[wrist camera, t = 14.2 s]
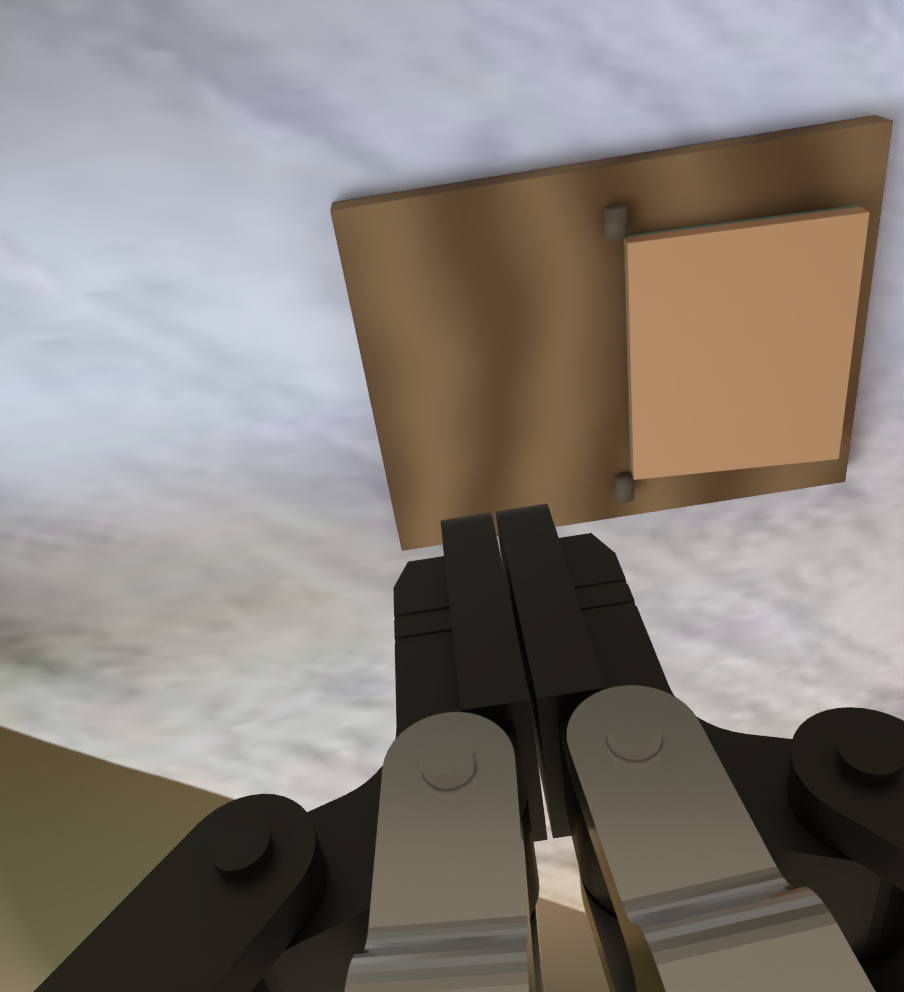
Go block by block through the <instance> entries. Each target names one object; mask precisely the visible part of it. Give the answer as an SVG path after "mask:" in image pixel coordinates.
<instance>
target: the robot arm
mask: <svg viewBox="0 0 904 992" xmlns="http://www.w3.org/2000/svg"><path fill="white" fill-rule="evenodd" d="M496 521H497V529H498V537H499V544H500V551H499V546H498V541H497V536H496V531H495V527H494V522H493V517H492V513H491V512H490V513H484V514H478V515H471V516H465V517H458V518H452V519H446V520H440V522H441V532H442V541H443V550H444V556H442V557H435V558H429V559H423V560H416V561H410V562H408V563H407V565H406V566H405V568H404V570H403V572H402V574H401V575H400V577H399V579H398V581H397V582H396V584H395V586H394V617H395V620H394V631H395V676H396V722H397V729H396V738H395V741H394V742H393V743H392V745H391V746H390V748H389V749H388V751H387V754H386V756H385V759H384V763H383V766H382V767H381V768H380V769H379V770H378V771H377V773H376V774H375V775H374V776H373V777H371V778H370V779H369V780H368V781H367V782H366V783H364V784H363V785H361V786H360V787H358V788H357V789H356V790H354V791H352V792H350V793H348V794H346V795H344V796H342V797H340V798H338V799H336V800H333V801H331V802H329V803H327V804H324V805H322V806H320V807H318V808H316V809H313V810H311V811H309V812H306V811H305V810H304V809H303V808H302V806H300V805H299V804H298V803H296V802H295V801H293V800H291V799H289V798H286V797H284V796H279V795H275V794H257V795H250V796H246V797H242V798H239V799H236V800H233V801H231V802H228V803H227V804H225V805H223V806H221V807H219V808H217V809H216V810H214V811H213V812H212V813H210V814H209V815H207V816H206V817H205V818H204V819H203V820H202V821H201V822H200V823H198V824H197V825H196V826H195V827H194V828H193V829H192V830H191V831H190V833H189V834H187V836H185V838H184V839H183V840H182V841H181V842H180V843H179V844H178V845H177V846H176V847H175V848H174V849H173V850H172V851H171V852H170V853H169V854H168V855H167V856H166V857H165V858H164V859H163V860H162V861H161V862H160V863H159V864H158V865H157V866H156V867H155V868H154V869H153V870H152V871H151V872H150V874H148V875H147V876H146V877H145V878H144V879H143V881H142V882H140V883H139V885H138V886H137V887H136V888H135V889H134V890H133V891H132V892H131V893H130V894H129V895H128V896H127V897H126V898H125V899H124V900H123V901H122V902H121V903H120V904H119V905H118V906H117V907H116V908H115V909H114V910H113V911H112V912H111V913H110V914H109V915H108V916H107V917H106V918H105V920H103V921H102V922H101V923H100V924H99V925H98V926H97V928H96V929H94V931H93V932H92V933H91V934H90V935H89V936H88V937H87V938H86V939H85V940H84V941H83V942H82V943H81V944H80V945H79V946H78V947H77V948H76V949H75V950H74V951H73V952H72V953H71V954H70V955H69V956H68V957H67V958H66V959H65V960H64V961H63V962H62V963H61V964H60V965H59V967H57V968H56V969H55V971H53V972H52V973H51V974H50V975H49V977H48V978H47V979H46V980H45V981H44V982H43V983H42V984H41V985H40V986H39V987H38V988H37V989H36V990H35V991H34V992H544V982H543V971H542V959H541V948H540V938H539V937H540V936H539V925H538V914H537V906H536V903H537V900H538V895H539V878H538V871H537V863H536V856H535V849H534V842H535V841H542V840H547V832H546V824H545V815H544V807H543V799H542V791H541V783H540V775H541V780H542V785H543V790H544V795H545V800H546V805H547V811H548V816H549V821H550V826H551V831H552V836H553V838H559V837H565V836H572V839H573V843H574V848H575V852H576V857H577V861H578V866H579V873H580V884H581V894H582V899H583V904H584V908H585V911H586V914H587V918H588V921H589V924H590V927H591V930H592V934H593V937H594V940H595V944H596V947H597V950H598V954H599V957H600V960H601V964H602V967H603V971H604V974H605V977H606V981H607V984H608V987H609V991H610V992H904V721H903V720H901V719H899V718H896V717H894V716H892V715H889V714H886V713H883V712H879V711H876V710H870V709H865V708H853V707H847V708H835V709H830V710H826V711H823V712H820V713H817V714H815V715H814V716H812V717H810V718H808V719H807V720H806V721H805V722H804V723H802V724H801V725H800V726H799V728H798V729H797V731H796V732H795V734H794V737H793V739H786V738H777V737H768V736H759V735H751V734H743V733H738V732H732V731H729V730H725V729H722V728H719V727H716V726H714V725H712V724H709V723H707V722H705V721H703V720H702V719H700V718H698V717H696V716H695V714H694V713H693V711H692V710H691V709H690V708H689V707H688V706H687V705H686V704H684V703H683V702H682V701H680V700H679V699H678V698H676V697H675V696H674V695H673V693H672V691H671V689H670V687H669V685H668V682H667V680H666V677H665V675H664V673H663V670H662V668H661V665H660V663H659V660H658V658H657V655H656V653H655V650H654V648H653V645H652V643H651V640H650V638H649V635H648V633H647V630H646V628H645V626H644V623H643V621H642V618H641V616H640V613H639V611H638V608H637V606H635V602H634V598H633V596H632V593H631V591H630V588H629V586H628V584H626V579H625V576H624V574H623V571H622V569H621V566H620V564H619V561H618V559H617V556H616V554H615V552H613V551H612V550H611V549H610V548H608V547H607V546H606V545H605V544H604V543H602V542H601V541H600V540H599V539H598V538H596V537H595V536H594V535H593V534H592V533H588V534H582V535H575V536H569V537H563V538H558V535H557V531H556V528H555V525H554V522H553V519H552V516H551V512H550V509H549V506H548V504H540V505H534V506H528V507H521V508H515V509H508V510H502V511H496ZM500 552H501V556H500ZM501 559H502V561H501ZM538 765H539V767H538ZM539 770H540V775H539Z"/></svg>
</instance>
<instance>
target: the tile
mask: <svg viewBox="0 0 904 992" xmlns="http://www.w3.org/2000/svg"><path fill="white" fill-rule="evenodd" d="M868 220H869V212H868V211H867V210H865V209H864V208H862V207H861V206H859V205H855V206H848V207H840V208H832V209H824V210H817V211H809V212H801V213H793V214H786V215H778V216H770V217H763V218H755V219H747V220H739V221H732V222H724V223H716V224H708V225H701V226H693V227H685V228H677V229H670V230H662V231H654V232H647V233H639V234H631V235H628V236H627V237H625V238H624V270H625V305H626V340H627V375H628V410H629V445H630V469H631V472H632V476H633V479H634V480H637V479H647V478H657V477H667V476H676V475H686V474H696V473H706V472H716V471H726V470H736V469H745V468H755V467H765V466H775V465H785V464H795V463H805V462H814V461H824V460H834V459H839V452H840V444H841V436H842V428H843V420H844V412H845V404H846V396H847V388H848V380H849V372H850V364H851V356H852V348H853V340H854V332H855V324H856V316H857V308H858V300H859V292H860V284H861V276H862V268H863V260H864V252H865V244H866V236H867V228H868Z"/></svg>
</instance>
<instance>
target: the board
mask: <svg viewBox="0 0 904 992" xmlns="http://www.w3.org/2000/svg"><path fill="white" fill-rule="evenodd" d="M892 123H893V120H889V119H886V118H882V117H879V116H875V115H874V116H868V117H862V118H856V119H850V120H843V121H837V122H831V123H825V124H818V125H812V126H806V127H800V128H794V129H787V130H781V131H775V132H769V133H762V134H756V135H750V136H744V137H738V138H731V139H725V140H719V141H713V142H707V143H700V144H694V145H688V146H682V147H675V148H669V149H663V150H657V151H651V152H644V153H638V154H632V155H626V156H619V157H613V158H607V159H601V160H595V161H588V162H582V163H576V164H570V165H563V166H557V167H551V168H545V169H539V170H532V171H526V172H520V173H514V174H507V175H501V176H495V177H489V178H483V179H476V180H470V181H464V182H458V183H451V184H445V185H439V186H433V187H427V188H420V189H414V190H408V191H402V192H395V193H389V194H383V195H377V196H371V197H364V198H358V199H352V200H346V201H339V202H333V203H332V206H331V210H330V211H331V216H332V221H333V226H334V230H335V235H336V240H337V245H338V249H339V254H340V259H341V264H342V268H343V273H344V278H345V283H346V287H347V292H348V297H349V302H350V306H351V311H352V316H353V321H354V325H355V330H356V335H357V340H358V344H359V349H360V354H361V359H362V363H363V368H364V373H365V378H366V382H367V387H368V392H369V397H370V401H371V406H372V411H373V416H374V420H375V425H376V430H377V435H378V439H379V444H380V449H381V454H382V458H383V463H384V468H385V473H386V477H387V482H388V487H389V492H390V496H391V501H392V506H393V511H394V515H395V520H396V525H397V530H398V534H399V539H400V544H401V549H402V551H403V550H410V549H416V548H423V547H429V546H435V545H442V544H443V541H442V532H441V522H440V520H446V519H452V518H458V517H465V516H471V515H478V514H484V513H490V512H491V513H492V517H493V522H494V527H495V531H496V536H498V529H497V521H496V511H502V510H508V509H515V508H521V507H528V506H534V505H540V504H548V506H549V509H550V512H551V516H552V519H553V522H554V525H555V527H557V526H564V525H570V524H577V523H583V522H590V521H596V520H602V519H609V518H615V517H622V516H628V515H635V514H641V513H647V512H654V511H660V510H667V509H673V508H680V507H686V506H692V505H699V504H705V503H712V502H718V501H725V500H731V499H737V498H744V497H750V496H757V495H763V494H769V493H776V492H782V491H789V490H795V489H802V488H808V487H814V486H821V485H827V484H834V483H840V482H845V479H846V472H847V464H848V456H849V449H850V441H851V434H852V426H853V418H854V411H855V403H856V396H857V388H858V381H859V373H860V365H861V358H862V350H863V343H864V335H865V328H866V320H867V312H868V305H869V297H870V290H871V282H872V275H873V267H874V259H875V252H876V244H877V237H878V229H879V221H880V214H881V206H882V199H883V191H884V184H885V176H886V168H887V161H888V153H889V146H890V138H891V131H892ZM855 205H859V206H861V207H862V208H864V209H865V210H867V211H868V212H869V220H868V228H867V236H866V244H865V252H864V260H863V268H862V276H861V284H860V292H859V300H858V308H857V316H856V324H855V332H854V340H853V348H852V356H851V364H850V372H849V380H848V388H847V396H846V404H845V412H844V420H843V428H842V436H841V444H840V452H839V459H834V460H824V461H814V462H805V463H795V464H785V465H775V466H765V467H755V468H745V469H736V470H726V471H716V472H706V473H696V474H686V475H676V476H667V477H657V478H647V479H637V480H634V479H633V476H632V472H631V469H630V445H629V410H628V375H627V340H626V305H625V270H624V238H625V237H627V236H628V235H631V234H639V233H647V232H654V231H662V230H670V229H677V228H685V227H693V226H701V225H708V224H716V223H724V222H732V221H739V220H747V219H755V218H763V217H770V216H778V215H786V214H793V213H801V212H809V211H817V210H824V209H832V208H840V207H848V206H855Z"/></svg>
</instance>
